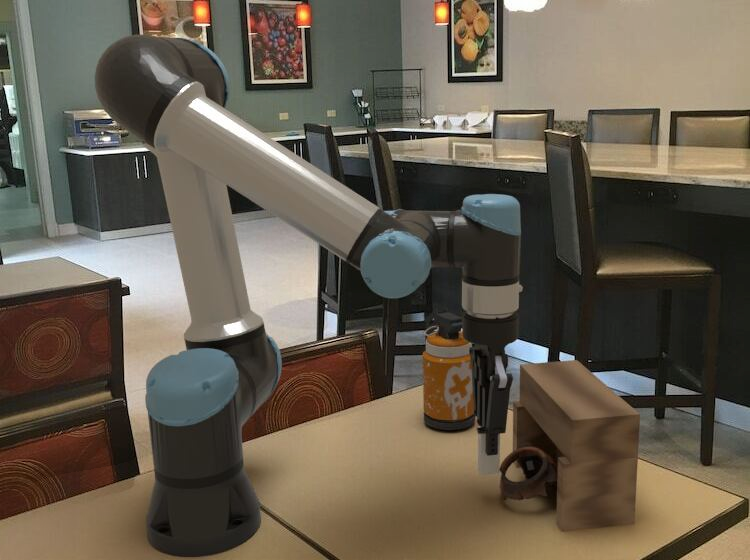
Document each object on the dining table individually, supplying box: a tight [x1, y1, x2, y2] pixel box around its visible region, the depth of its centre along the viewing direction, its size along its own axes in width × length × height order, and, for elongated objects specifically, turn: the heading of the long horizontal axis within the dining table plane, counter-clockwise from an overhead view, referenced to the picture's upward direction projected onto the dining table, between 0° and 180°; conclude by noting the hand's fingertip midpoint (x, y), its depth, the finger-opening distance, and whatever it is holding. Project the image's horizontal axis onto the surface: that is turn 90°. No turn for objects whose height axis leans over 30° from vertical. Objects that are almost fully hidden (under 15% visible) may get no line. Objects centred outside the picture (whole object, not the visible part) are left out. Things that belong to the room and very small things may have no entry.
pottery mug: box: [499, 442, 558, 501], centre depth 113 cm, size 12×9×8 cm
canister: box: [422, 307, 476, 431], centre depth 137 cm, size 9×11×20 cm
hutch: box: [512, 359, 641, 533], centre depth 112 cm, size 10×21×16 cm, turn 8°
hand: (488, 471), depth 112 cm, fingers closed
